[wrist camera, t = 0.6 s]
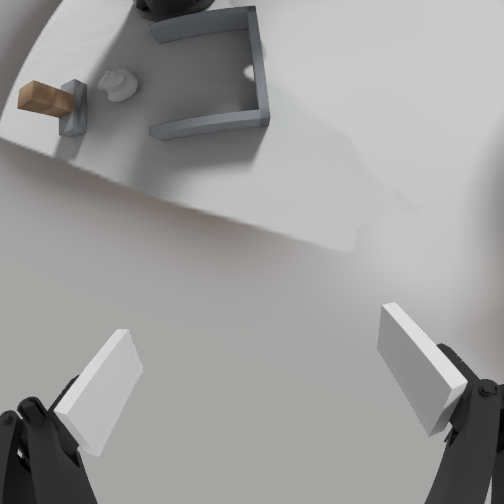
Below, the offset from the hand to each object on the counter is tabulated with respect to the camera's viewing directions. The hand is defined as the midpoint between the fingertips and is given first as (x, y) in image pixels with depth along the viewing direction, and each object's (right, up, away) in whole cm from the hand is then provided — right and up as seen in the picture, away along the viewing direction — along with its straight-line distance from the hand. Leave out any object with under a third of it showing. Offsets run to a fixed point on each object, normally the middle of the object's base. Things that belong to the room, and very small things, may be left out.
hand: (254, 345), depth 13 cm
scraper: (-29, +28, +21) cm, 45 cm away
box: (-7, +30, +20) cm, 37 cm away
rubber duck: (-20, +30, +20) cm, 41 cm away
